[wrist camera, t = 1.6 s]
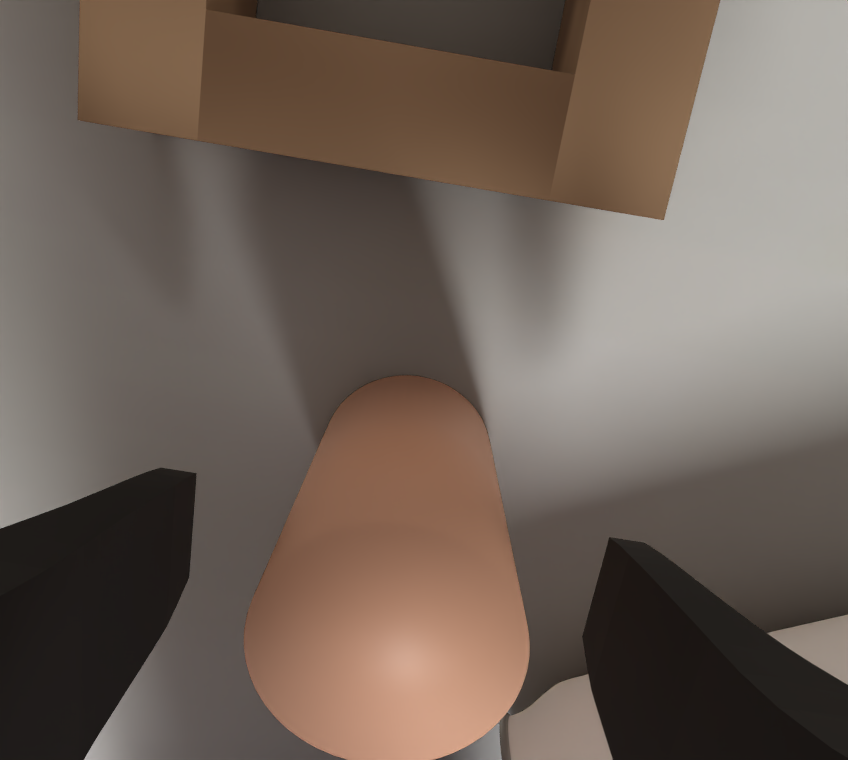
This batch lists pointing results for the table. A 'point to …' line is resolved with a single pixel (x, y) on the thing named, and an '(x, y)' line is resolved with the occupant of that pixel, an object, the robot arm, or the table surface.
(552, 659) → the table surface
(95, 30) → the socket block
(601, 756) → the can
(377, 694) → the pin
